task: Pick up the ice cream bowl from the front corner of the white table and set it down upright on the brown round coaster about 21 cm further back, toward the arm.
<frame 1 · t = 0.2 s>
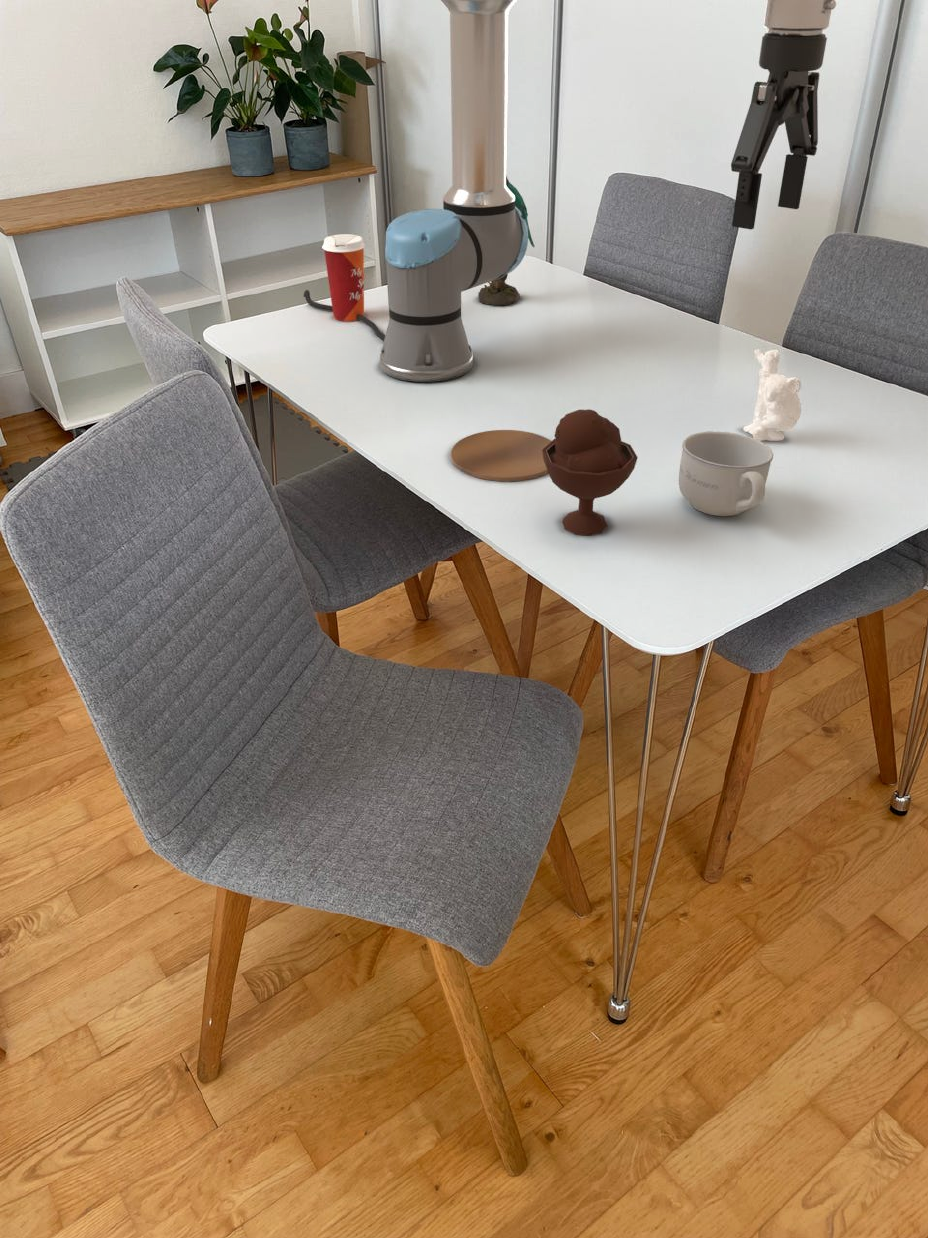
hand: (766, 217, 133), 28 cm above the table, tool pointing down, fingers open, 13 cm apart
brown round coaster: (505, 456, 138), on the table
koala figurine: (765, 437, 143), on the table
teacup: (722, 512, 125), on the table
sculpture: (494, 300, 195), on the table
ice cream bowl: (584, 525, 123), on the table
paper cup: (349, 317, 187), on the table
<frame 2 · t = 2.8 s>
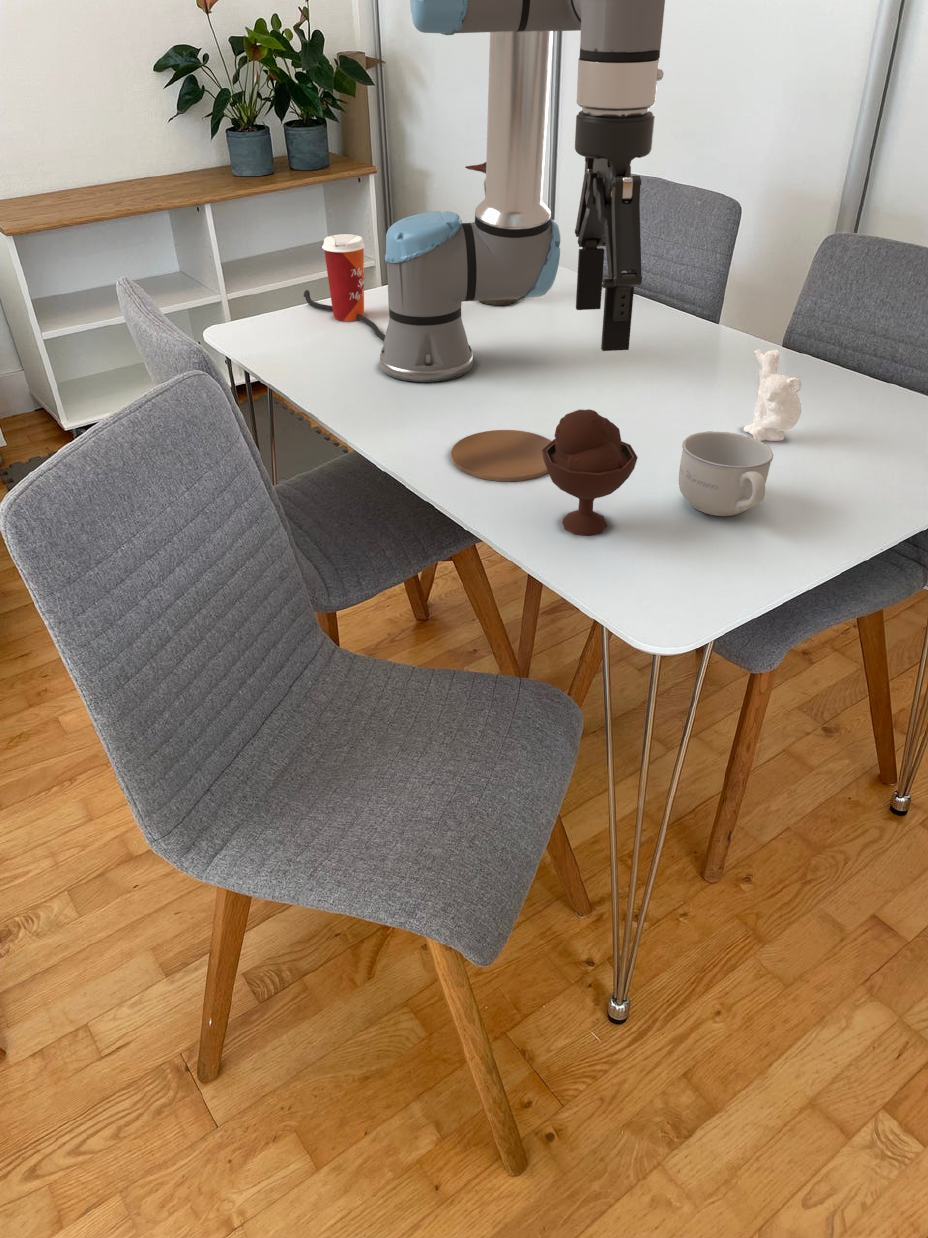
hand: (600, 328, 109), 24 cm above the table, tool pointing down, fingers open, 13 cm apart
nothing on the table moved.
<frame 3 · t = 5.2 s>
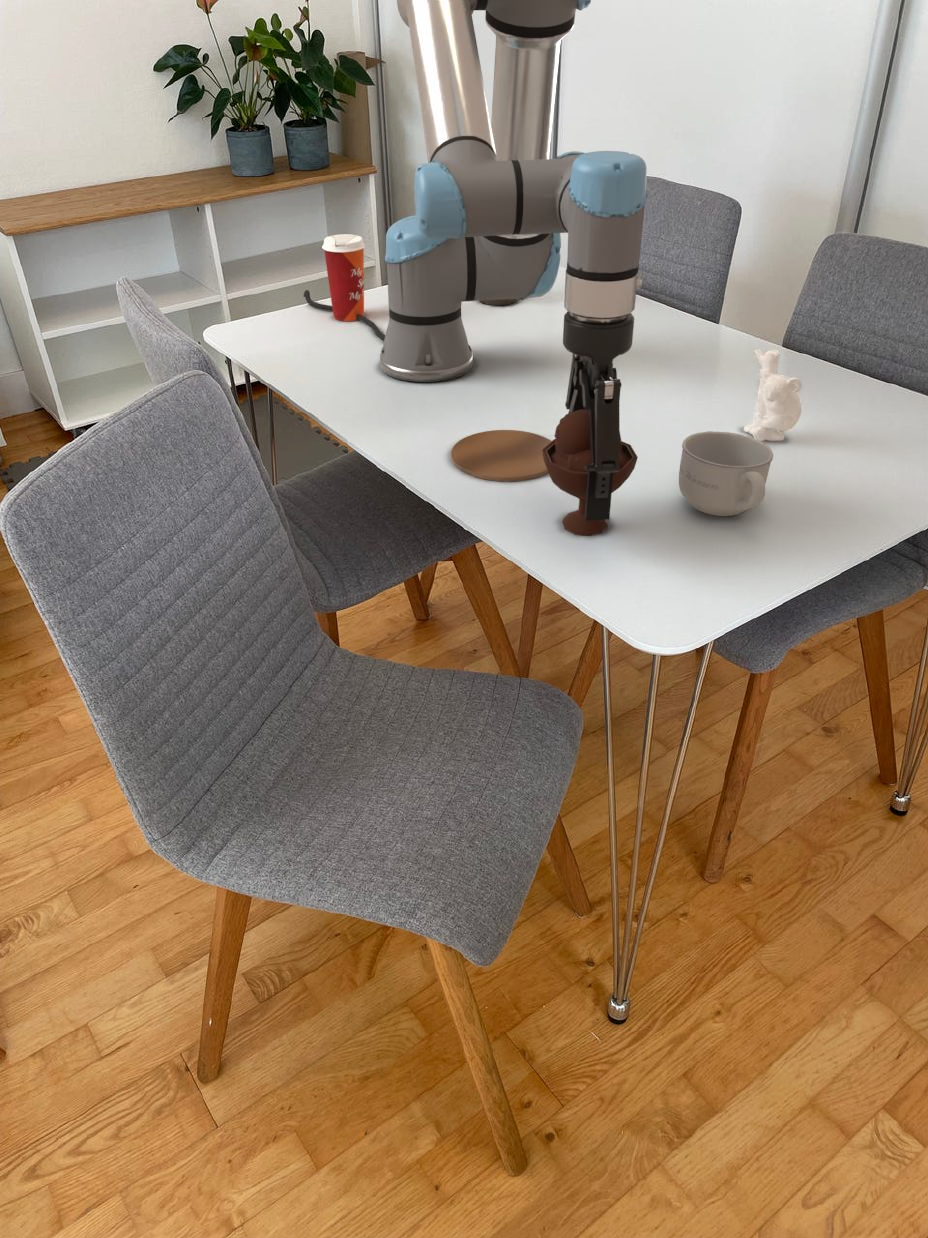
hand: (586, 494, 120), 4 cm above the table, tool pointing down, fingers closed on ice cream bowl, 11 cm apart
ice cream bowl: (584, 525, 123), on the table, touching gripper
everything else where it was.
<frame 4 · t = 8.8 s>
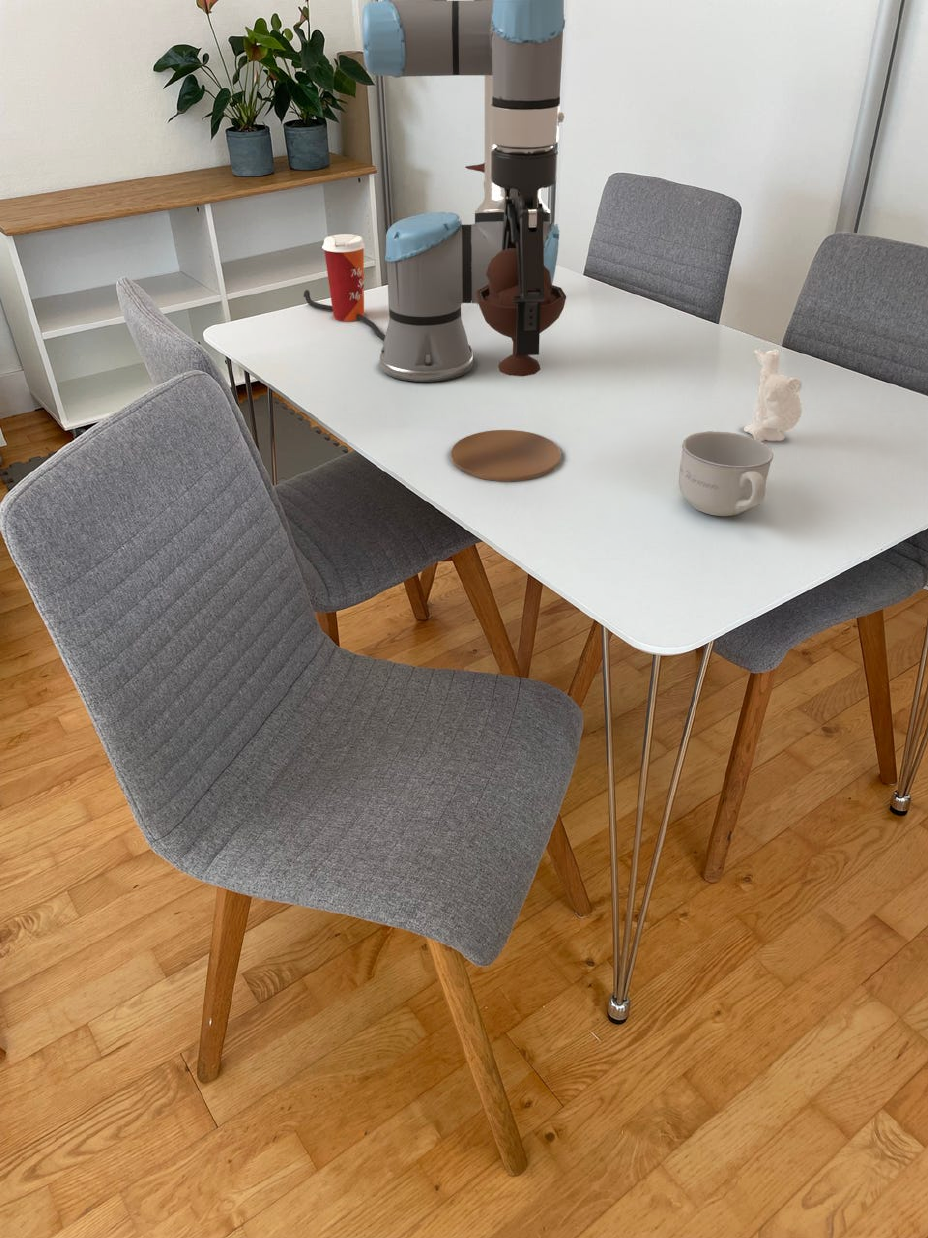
hand: (520, 336, 126), 18 cm above the table, tool pointing down, fingers closed on ice cream bowl, 11 cm apart
ice cream bowl: (519, 369, 128), point 13 cm above the table, touching gripper
everything else where it was.
when the fingers open (5 cm above the table, at t = 12.7 s): ice cream bowl stays where it is, resting on brown round coaster.
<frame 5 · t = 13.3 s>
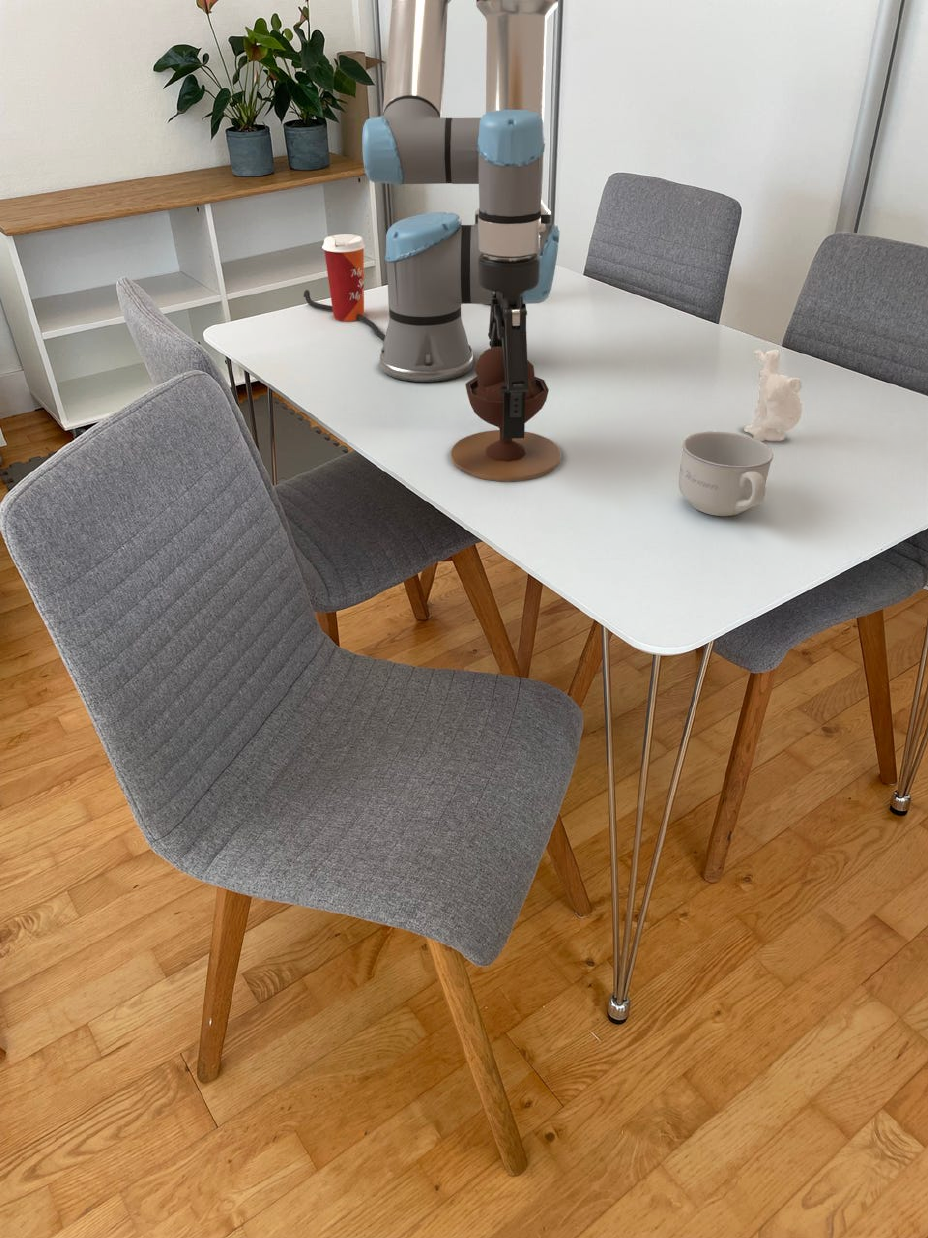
hand: (506, 416, 135), 6 cm above the table, tool pointing down, fingers open, 13 cm apart
ice cream bowl: (505, 453, 138), resting on brown round coaster
everything else where it was.
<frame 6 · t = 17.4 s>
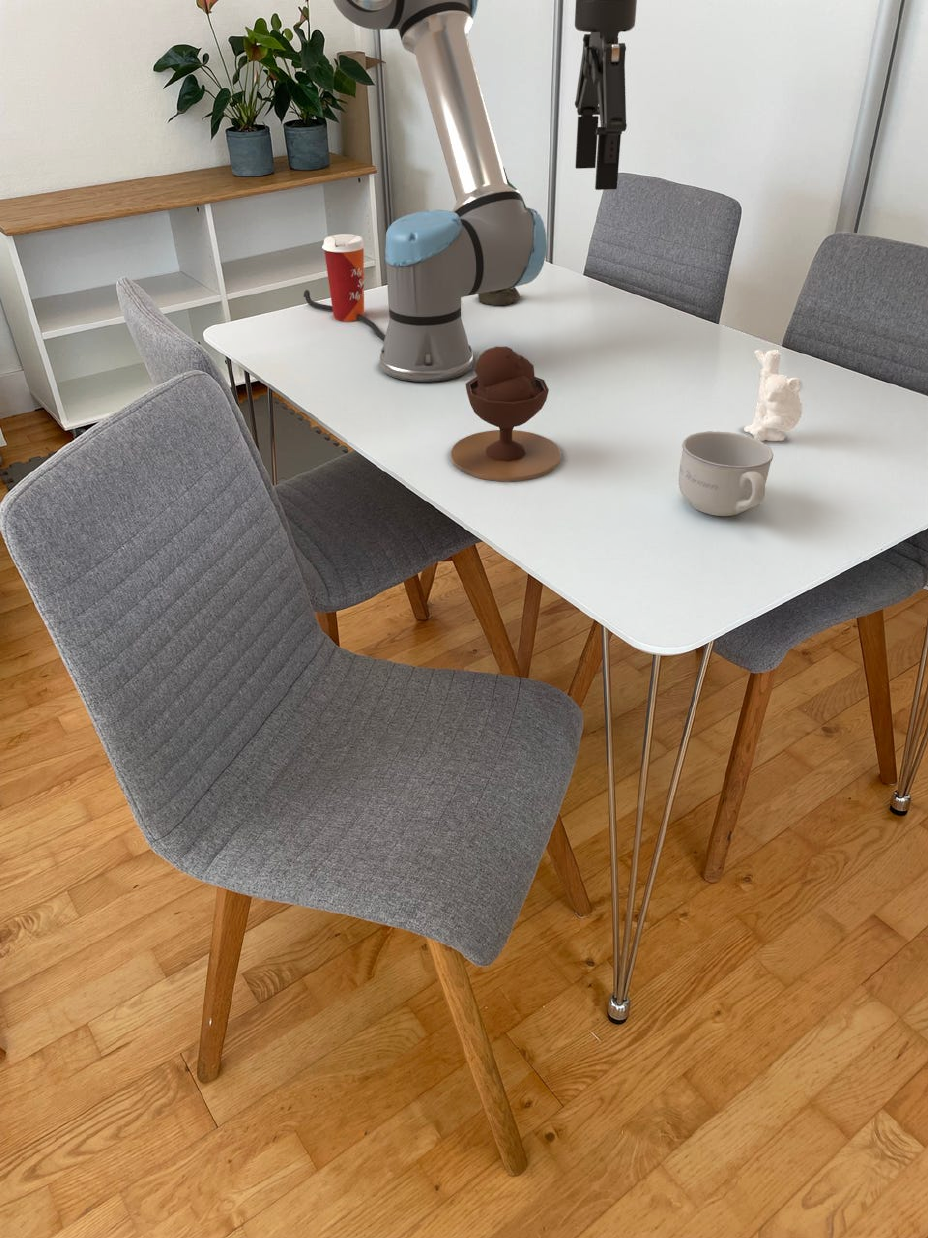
hand: (595, 178, 136), 32 cm above the table, tool pointing down, fingers open, 13 cm apart
nothing on the table moved.
at the end: ice cream bowl 0.0 cm from the brown round coaster (horizontally); ice cream bowl inside the target area (0.0 cm from its centre), resting on brown round coaster; ice cream bowl tilted 0° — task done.
